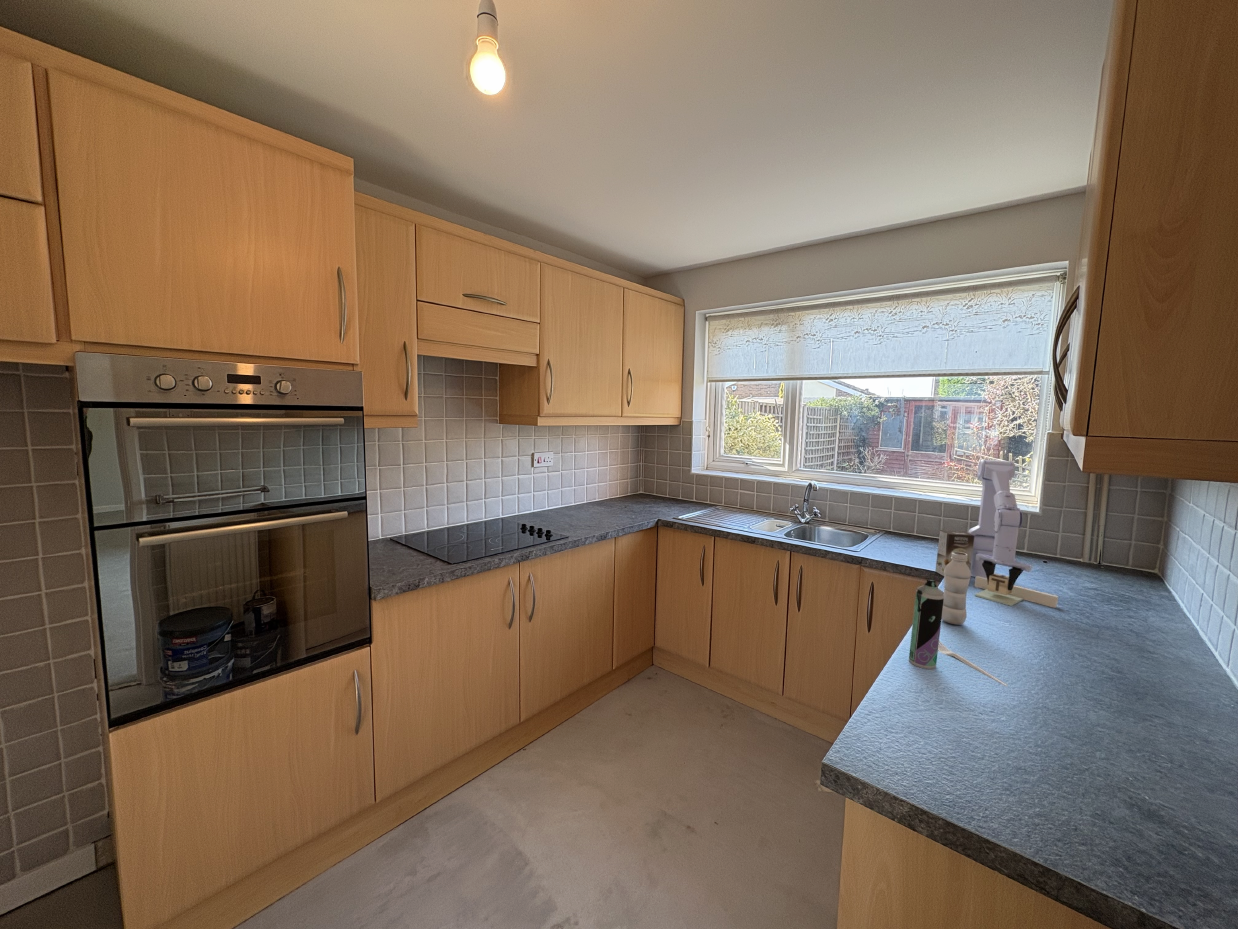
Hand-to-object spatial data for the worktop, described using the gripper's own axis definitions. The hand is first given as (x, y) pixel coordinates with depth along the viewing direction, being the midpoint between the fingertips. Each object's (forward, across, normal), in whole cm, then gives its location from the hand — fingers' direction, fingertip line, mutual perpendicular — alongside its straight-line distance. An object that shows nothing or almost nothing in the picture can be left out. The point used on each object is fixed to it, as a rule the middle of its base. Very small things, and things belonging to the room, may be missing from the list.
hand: (999, 587), depth 165 cm
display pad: (+4, 0, 0) cm, 4 cm away
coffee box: (+4, -19, +14) cm, 24 cm away
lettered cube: (+2, 0, 0) cm, 2 cm away
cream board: (+4, +2, +7) cm, 8 cm away
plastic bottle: (+4, +1, -37) cm, 38 cm away
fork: (+4, +13, -61) cm, 63 cm away
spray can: (+4, +8, -71) cm, 71 cm away
